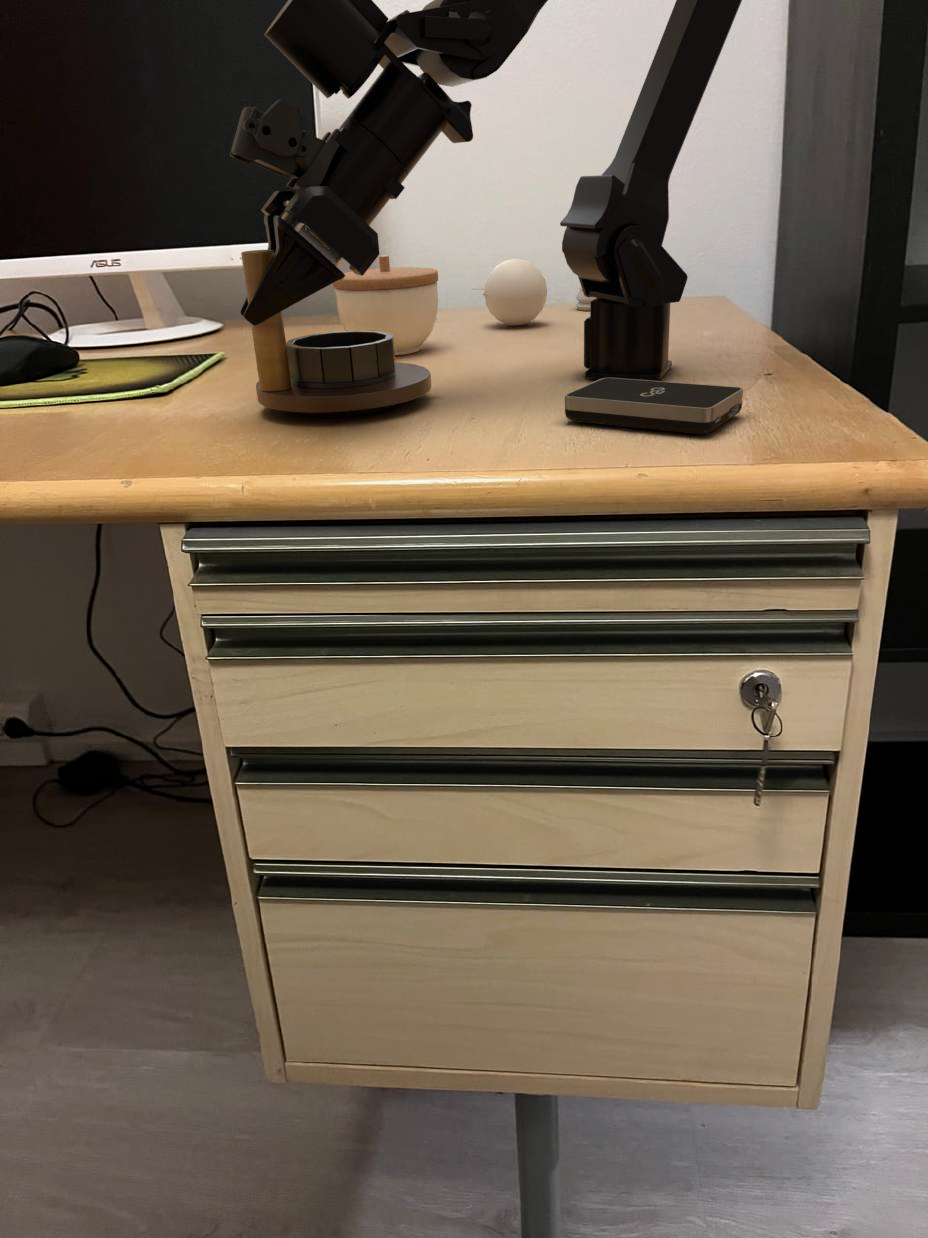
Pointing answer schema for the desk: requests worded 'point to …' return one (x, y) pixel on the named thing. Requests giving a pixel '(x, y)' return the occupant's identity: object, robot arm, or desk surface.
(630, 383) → the external hard drive
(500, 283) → the seamed sphere
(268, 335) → the turntable
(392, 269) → the trinket box
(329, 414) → the turntable hub
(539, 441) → the desk surface
